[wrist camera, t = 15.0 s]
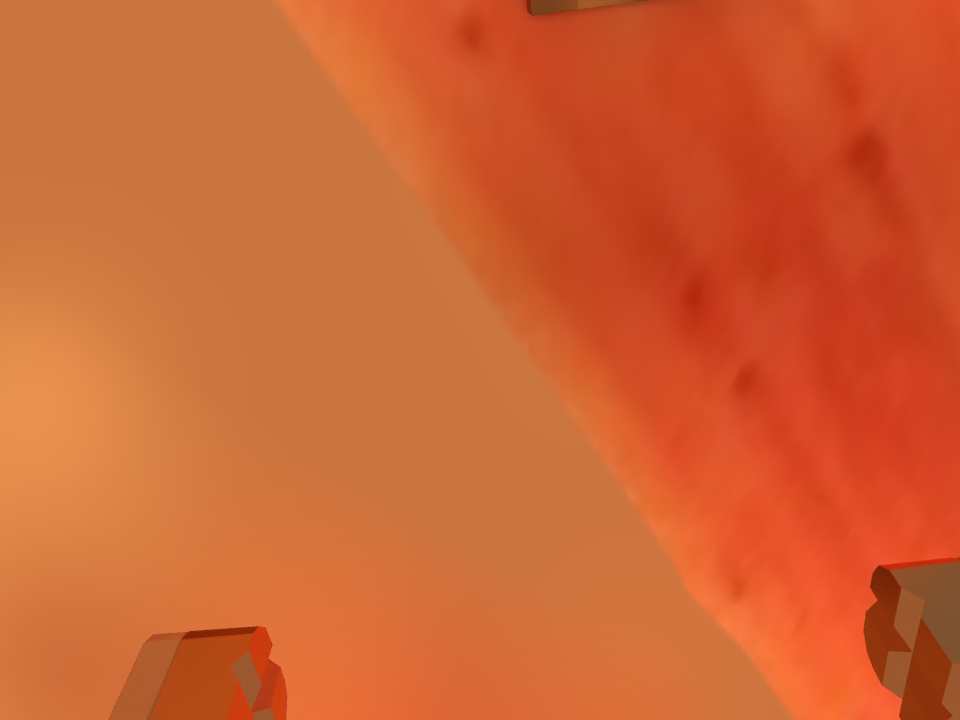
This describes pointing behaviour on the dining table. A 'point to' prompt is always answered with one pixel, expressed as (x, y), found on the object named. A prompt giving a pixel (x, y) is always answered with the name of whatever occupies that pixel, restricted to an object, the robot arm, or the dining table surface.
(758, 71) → the dining table surface
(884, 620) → the robot arm
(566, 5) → the walnut housing
